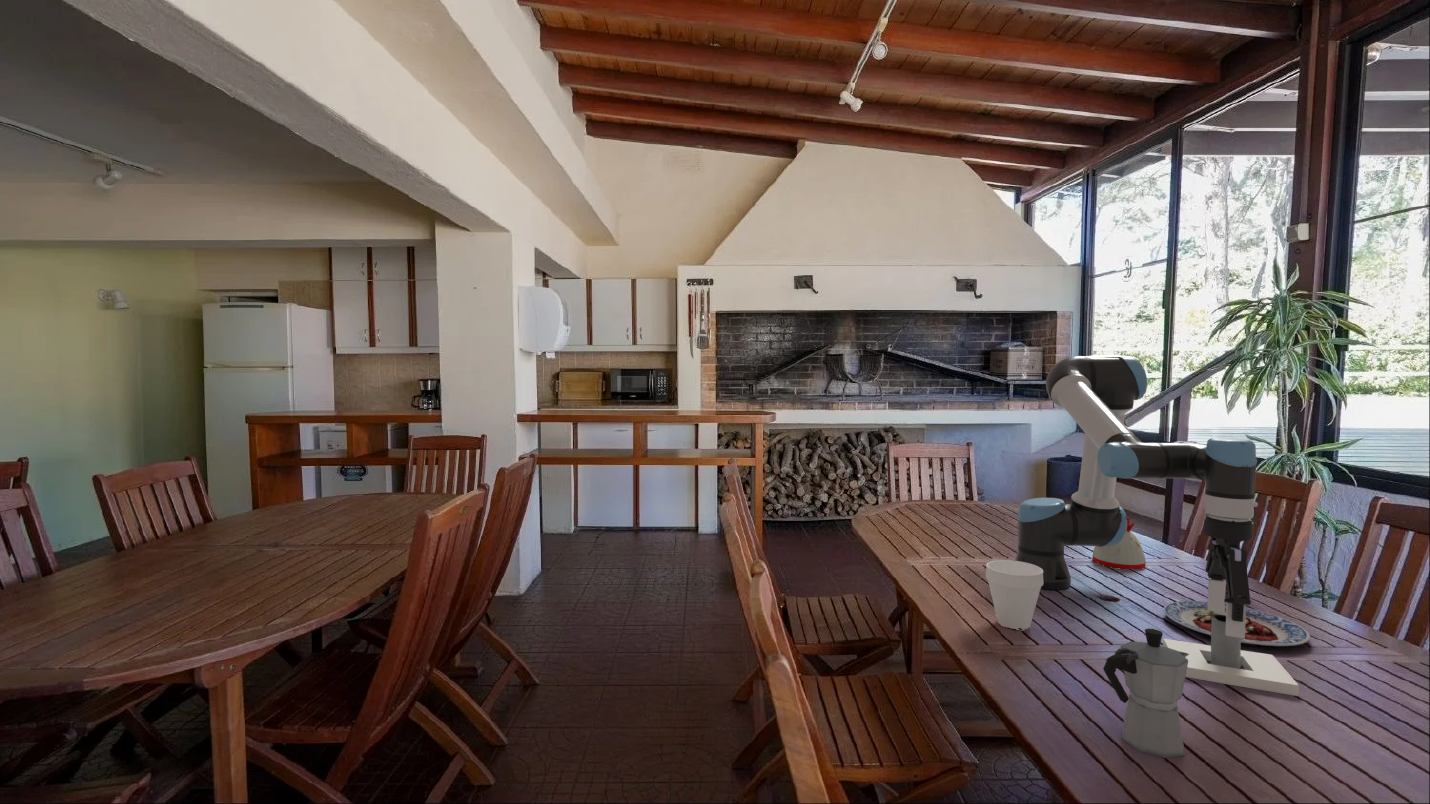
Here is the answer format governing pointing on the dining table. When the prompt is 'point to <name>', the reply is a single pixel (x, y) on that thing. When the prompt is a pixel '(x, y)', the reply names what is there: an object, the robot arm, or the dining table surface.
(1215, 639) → the grey cylinder
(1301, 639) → the ceramic plate
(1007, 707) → the dining table surface
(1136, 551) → the kitchen timer
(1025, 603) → the cup
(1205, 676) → the notched board
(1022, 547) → the robot arm
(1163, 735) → the coffee maker
